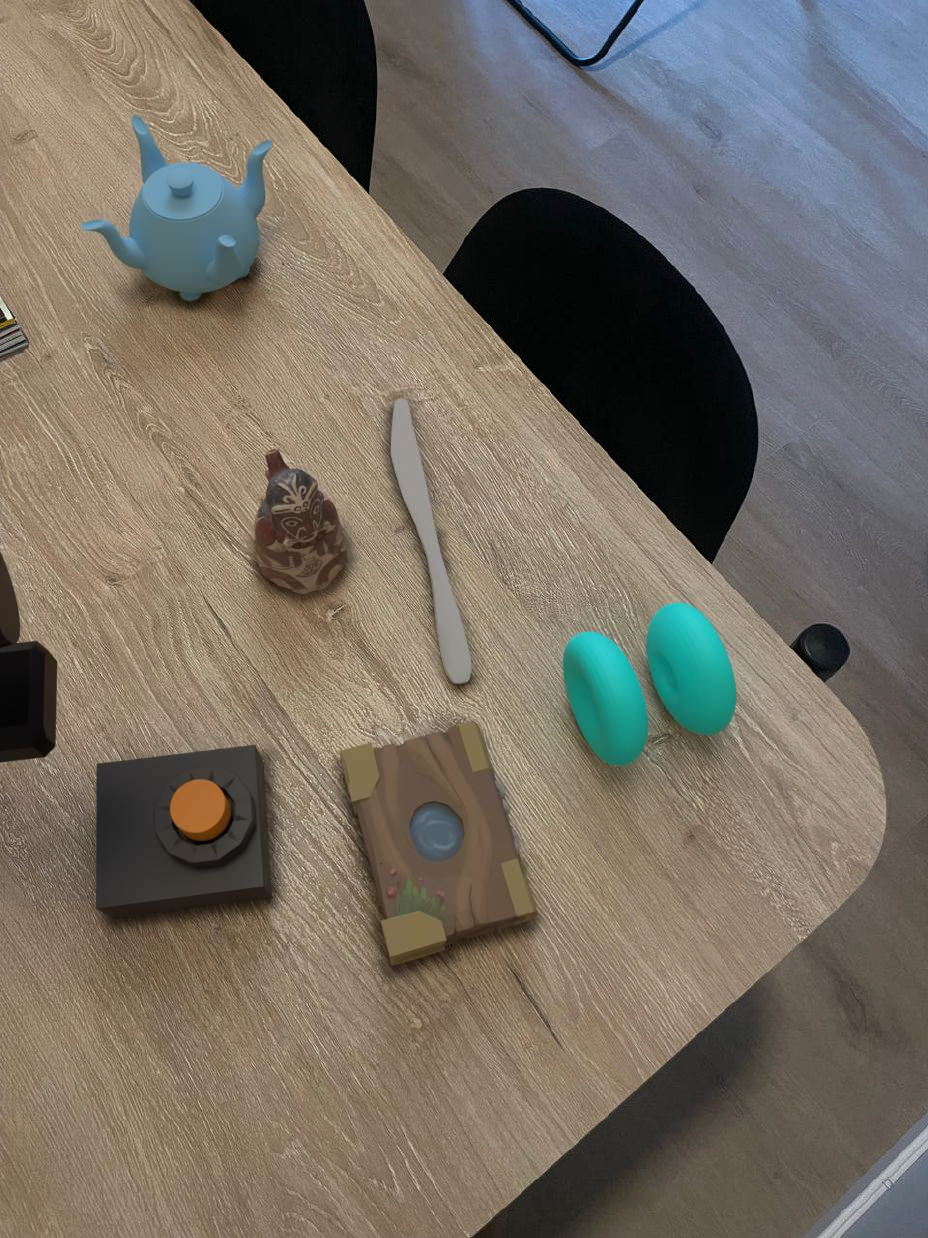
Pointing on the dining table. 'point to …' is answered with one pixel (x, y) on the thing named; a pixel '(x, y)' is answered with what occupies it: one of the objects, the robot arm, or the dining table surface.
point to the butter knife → (429, 544)
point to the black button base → (179, 835)
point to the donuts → (681, 672)
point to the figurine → (297, 530)
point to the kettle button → (200, 810)
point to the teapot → (189, 222)
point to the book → (437, 840)
